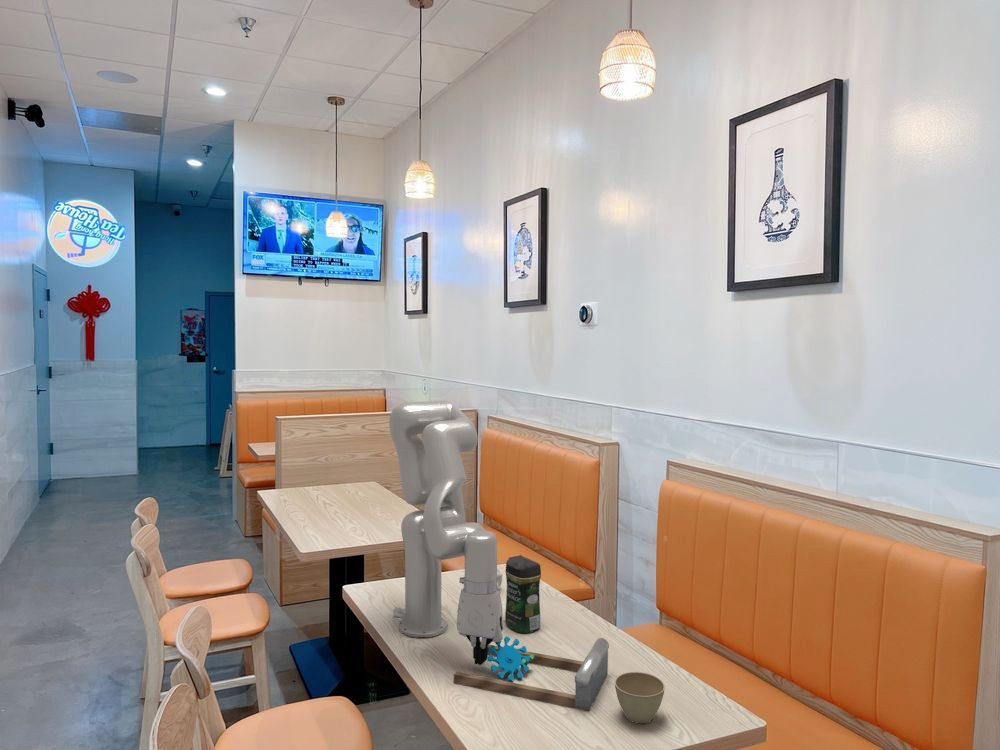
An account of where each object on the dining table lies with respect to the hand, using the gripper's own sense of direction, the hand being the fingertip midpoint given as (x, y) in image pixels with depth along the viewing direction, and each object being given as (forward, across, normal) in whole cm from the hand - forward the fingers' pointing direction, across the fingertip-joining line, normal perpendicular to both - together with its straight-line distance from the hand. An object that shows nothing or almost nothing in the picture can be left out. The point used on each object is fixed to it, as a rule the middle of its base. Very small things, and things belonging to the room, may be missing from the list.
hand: (480, 662), depth 164 cm
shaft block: (+2, +27, 0) cm, 27 cm away
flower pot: (+2, +38, -7) cm, 39 cm away
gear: (+2, +8, 0) cm, 8 cm away
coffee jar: (+2, +1, +26) cm, 26 cm away
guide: (+2, +11, 0) cm, 11 cm away
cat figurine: (+2, -19, +48) cm, 52 cm away
